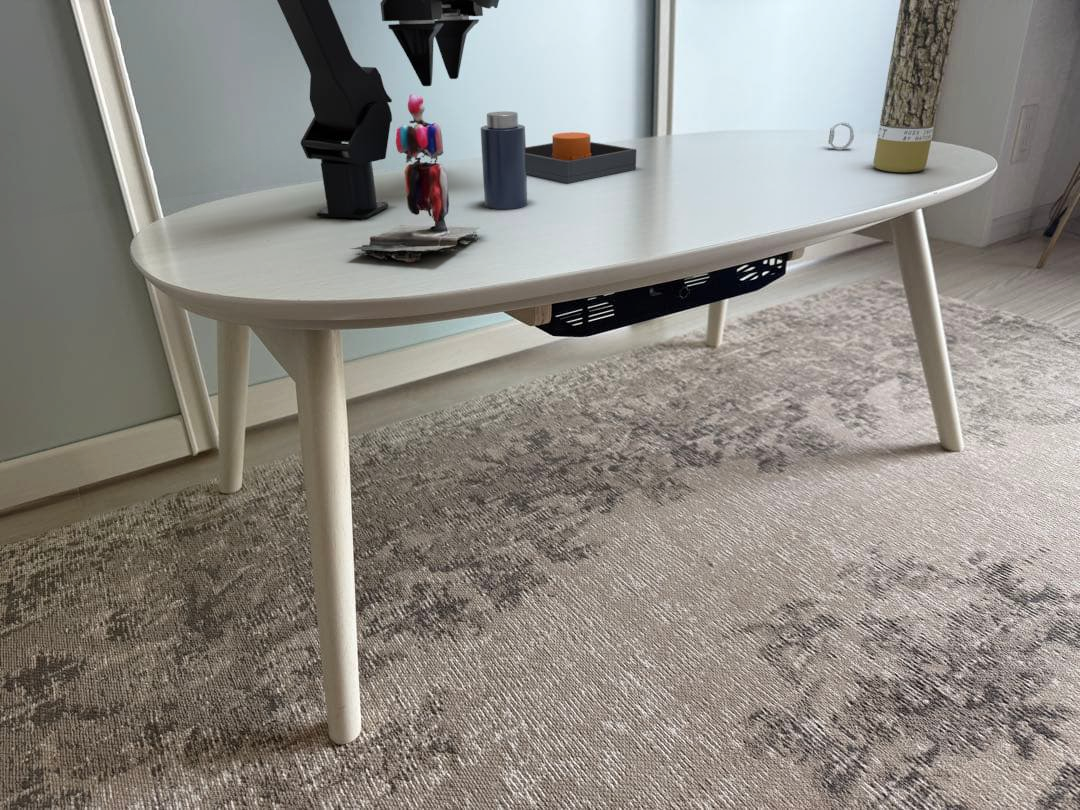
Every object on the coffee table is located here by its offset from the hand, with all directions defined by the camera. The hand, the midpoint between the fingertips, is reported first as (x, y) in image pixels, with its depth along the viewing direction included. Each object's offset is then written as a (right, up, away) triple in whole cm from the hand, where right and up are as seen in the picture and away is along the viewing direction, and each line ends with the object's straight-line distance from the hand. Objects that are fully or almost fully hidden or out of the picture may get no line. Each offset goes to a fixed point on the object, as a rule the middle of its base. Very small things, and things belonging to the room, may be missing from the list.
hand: (441, 82), depth 100 cm
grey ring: (+60, -1, +23) cm, 64 cm away
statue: (0, -26, -21) cm, 33 cm away
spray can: (+9, -17, -4) cm, 19 cm away
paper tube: (+62, -9, +9) cm, 64 cm away
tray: (+17, -7, +14) cm, 23 cm away
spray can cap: (+17, -6, +13) cm, 23 cm away
